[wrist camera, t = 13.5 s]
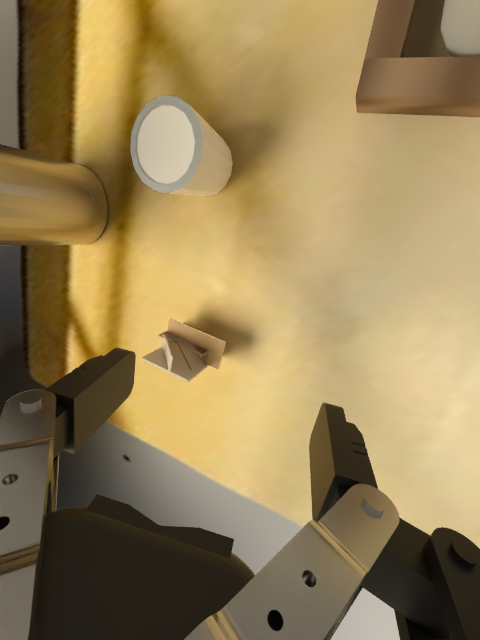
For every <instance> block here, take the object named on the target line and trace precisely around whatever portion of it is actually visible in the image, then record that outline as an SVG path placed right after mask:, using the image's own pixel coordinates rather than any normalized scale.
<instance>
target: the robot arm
mask: <svg viewBox="0 0 480 640" xmlns="http://www.w3.org/2000/svg"><path fill="white" fill-rule="evenodd" d="M107 214H108V208H107V199H106V195H105V192H104V189H103V186H102V184H101V183H100V181H99V179H98V178H97V177H96V175H95V174H94V173H93V172H92V171H91V170H89V169H88V168H86V167H84V166H82V165H78V164H74V163H70V162H67V161H63V160H59V159H55V158H51V157H48V156H44V155H41V154H37V153H33V152H29V151H25V150H21V149H18V148H13V147H10V146H6V145H2V144H0V245H1V246H4V245H77V244H90V243H92V242H94V241H95V240H97V239H98V238H99V237H100V235H101V234H102V232H103V230H104V228H105V225H106V221H107ZM134 372H135V353H134V352H132V351H128V350H124V349H121V348H115V349H113V350H112V351H110V352H109V353H108V354H106V355H105V356H98V357H95V358H92V359H89V360H87V361H86V362H85V363H83V364H82V365H80V366H79V368H78V367H77V368H76V369H74V370H73V371H72V372H71V373H69V374H67V375H66V376H64V377H63V378H61V379H60V380H58V381H57V382H55V383H54V384H53V385H51V386H50V387H48V388H47V389H45V390H30V391H25V392H22V393H19V394H17V395H15V396H13V397H12V398H10V399H9V400H8V401H7V402H0V640H330V639H331V638H332V636H333V635H334V633H335V631H336V630H337V628H338V627H339V625H340V623H341V621H342V620H343V619H344V617H345V615H346V614H347V612H348V610H349V609H350V607H351V606H352V604H353V602H354V601H355V599H356V598H357V596H358V594H359V593H360V591H361V590H362V588H365V589H366V590H367V591H369V592H370V593H372V594H373V595H375V596H376V597H377V598H379V599H380V600H382V601H383V602H385V603H386V604H388V605H389V606H390V607H392V608H393V609H394V610H395V615H396V620H397V626H398V630H399V636H400V640H480V549H479V548H478V547H477V546H476V545H475V544H474V543H473V542H472V541H470V540H469V539H468V538H466V537H465V536H463V535H462V534H460V533H458V532H456V531H454V530H452V529H448V528H443V527H442V528H437V529H435V530H434V531H433V533H432V534H431V536H430V535H428V534H426V533H425V532H423V531H421V530H420V529H418V528H416V527H414V526H413V525H411V524H409V523H407V522H406V521H404V520H402V519H401V518H400V517H399V514H398V511H397V509H396V507H395V505H394V504H393V502H392V501H391V500H390V499H389V498H388V497H387V496H386V495H385V494H384V493H383V492H381V491H380V490H378V487H377V484H376V480H375V477H374V473H373V470H372V466H371V463H370V460H369V457H368V453H367V449H366V447H365V442H364V439H363V436H362V434H361V432H360V431H359V430H358V428H357V427H356V426H355V425H354V424H352V423H349V422H346V418H345V414H344V410H343V408H342V407H339V406H335V405H331V404H327V403H323V404H322V406H321V408H320V411H319V414H318V417H317V420H316V422H315V425H314V428H313V431H312V434H311V438H310V445H309V452H310V473H311V494H312V515H313V519H312V520H311V521H310V522H308V523H307V524H306V525H305V526H304V527H303V528H302V529H301V530H300V532H298V533H297V534H296V536H294V537H293V538H292V539H291V540H290V541H289V542H288V543H287V544H286V545H285V546H284V547H283V549H282V550H280V552H278V554H276V556H274V557H273V559H271V561H269V563H267V565H265V566H264V567H263V568H262V570H260V572H259V573H257V575H254V573H253V572H252V571H251V569H249V567H248V566H247V565H246V564H245V563H244V562H243V561H242V560H241V559H240V558H238V557H237V556H236V555H234V554H233V553H232V552H231V551H232V546H233V541H234V539H232V538H229V537H226V536H223V535H219V534H216V533H213V532H210V531H207V530H204V529H201V528H193V527H171V526H160V525H158V524H156V523H155V522H153V521H152V520H150V519H149V518H147V517H146V516H144V515H143V514H142V513H140V512H139V511H137V510H136V509H134V508H133V507H132V506H130V505H128V504H125V503H122V502H119V501H116V500H113V499H110V498H106V497H103V496H100V495H96V497H95V498H94V499H93V501H92V502H91V504H90V505H89V506H76V507H70V508H65V509H61V510H58V511H56V500H57V483H58V467H59V453H60V452H61V451H62V450H64V451H67V452H70V453H73V454H75V453H76V452H77V451H78V450H79V449H80V448H81V447H82V446H83V445H84V444H85V443H86V441H87V440H88V439H89V438H90V437H91V436H92V435H93V434H94V433H95V432H96V431H97V430H98V429H99V428H100V426H101V425H102V424H103V423H104V422H105V421H106V420H107V419H108V418H109V417H110V416H111V415H112V414H113V413H114V412H115V411H116V409H117V408H118V407H119V406H120V405H121V404H122V403H123V402H124V401H125V400H126V399H127V398H128V396H129V395H130V393H131V391H132V388H133V384H134Z"/></svg>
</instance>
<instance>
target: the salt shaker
mask: <svg viewBox="0 0 480 640" xmlns="http://www.w3.org/2000/svg"><path fill="white" fill-rule="evenodd" d="M440 31H441V34H442V37H443V40H444V43H445V46H446V49H447V51H448V52H449V53H450V55H451V56H454V57H463V56H480V0H445V3H444V9H443V15H442V21H441V29H440Z"/></svg>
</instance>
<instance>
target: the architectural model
mask: <svg viewBox="0 0 480 640" xmlns="http://www.w3.org/2000/svg"><path fill="white" fill-rule="evenodd" d="M162 335H163V336H162ZM158 336H161V337H163V339H162V345H161V346H162V347H161V348H159V349H157V350H155V351H154V352H152V353H150V354H148V355H146V356H144V357H142V360H144V361H146V362H148V363H150V364H152V365H154V366H156V367H158V368H160V369H162V370H164V371H166V372H168V373H170V374H172V375H174V376H176V377H178V378H180V379H182V380H185V381H187V382H189V381H190V380H191V379H193V378H194V377H195V376H196V375H198V374H199V373H200V372H201V371H203V370H204V369H205V368H206V367H208V366H209V365H210V366H212V367H214V368H216V369H219V367H220V363H221V360H222V356H223V352H224V348H225V345H226V342H225V341H223V340H221V339H218V338H216V337H214V336H211V335H209V334H207V333H204V332H202V331H200V330H197V329H195V328H193V327H190V326H188V325H186V324H183V323H181V322H178V321H176V320H174V319H169V325H168V330H167V331H166V332H164V333H161V334H159V335H158ZM174 340H175V341H174Z"/></svg>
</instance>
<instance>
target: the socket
mask: <svg viewBox="0 0 480 640" xmlns="http://www.w3.org/2000/svg"><path fill="white" fill-rule="evenodd" d="M416 3H417V0H379V1H378V5H377V9H376V13H375V17H374V22H373V26H372V30H371V34H370V38H369V43H368V47H367V51H366V55H365V59H364V64H363V68H362V72H361V76H360V80H359V85H358V89H357V93H356V106H357V112H359V113H386V114H413V115H440V116H468V117H480V56H463V57H411V58H402V54H403V51H404V47H405V43H406V40H407V36H408V32H409V28H410V25H411V21H412V17H413V14H414V10H415V6H416Z"/></svg>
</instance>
